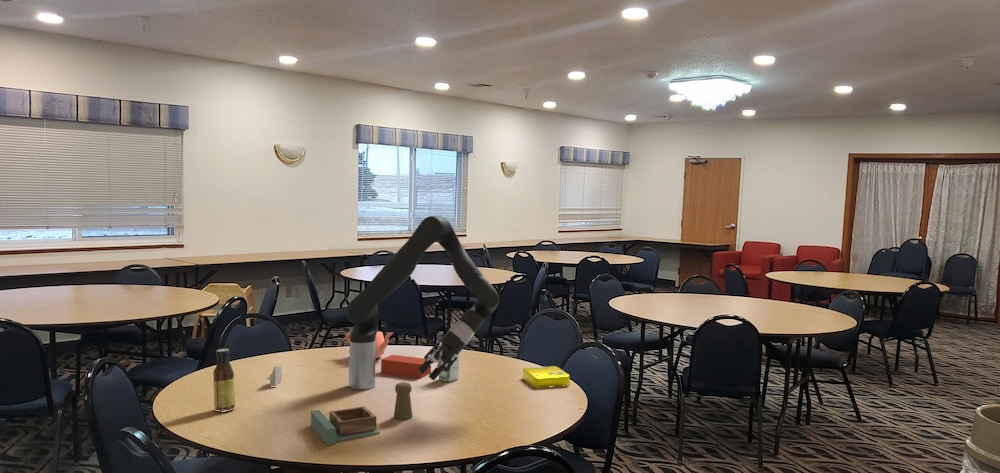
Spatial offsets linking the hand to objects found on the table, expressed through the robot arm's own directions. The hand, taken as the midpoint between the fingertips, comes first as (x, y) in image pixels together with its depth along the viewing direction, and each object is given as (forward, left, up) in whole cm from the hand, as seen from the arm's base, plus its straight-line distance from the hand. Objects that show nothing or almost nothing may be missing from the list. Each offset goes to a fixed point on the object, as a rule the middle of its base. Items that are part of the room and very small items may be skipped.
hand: (425, 375), depth 210 cm
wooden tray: (-3, -25, -13) cm, 29 cm away
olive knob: (-2, -7, -13) cm, 15 cm away
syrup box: (-25, +32, -13) cm, 42 cm away
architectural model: (-61, -22, -13) cm, 66 cm away
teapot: (-72, +27, -13) cm, 78 cm away
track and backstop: (-3, -27, -13) cm, 30 cm away
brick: (-43, +25, -13) cm, 51 cm away
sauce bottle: (-46, -46, -13) cm, 67 cm away
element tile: (+2, +58, -13) cm, 59 cm away
